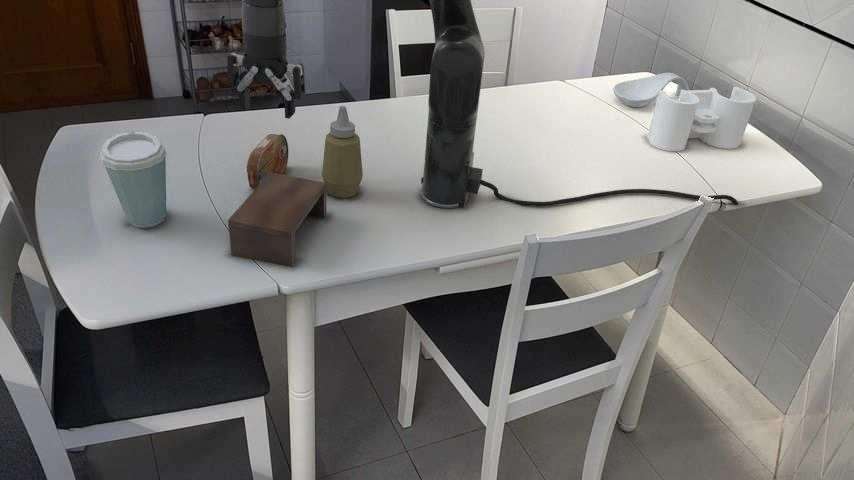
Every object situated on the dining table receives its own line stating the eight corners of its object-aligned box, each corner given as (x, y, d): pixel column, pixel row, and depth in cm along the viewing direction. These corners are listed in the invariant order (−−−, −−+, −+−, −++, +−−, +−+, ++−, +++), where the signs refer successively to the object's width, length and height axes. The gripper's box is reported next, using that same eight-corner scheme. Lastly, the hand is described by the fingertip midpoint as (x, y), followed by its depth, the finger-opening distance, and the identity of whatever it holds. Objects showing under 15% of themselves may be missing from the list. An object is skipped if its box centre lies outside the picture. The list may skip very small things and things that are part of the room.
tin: (261, 199, 143) (258, 160, 138) (245, 196, 143) (242, 157, 138) (290, 165, 155) (289, 128, 150) (276, 162, 155) (274, 125, 150)
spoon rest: (628, 114, 194) (635, 88, 190) (602, 97, 202) (607, 71, 198) (696, 105, 204) (703, 80, 200) (668, 89, 212) (674, 64, 208)
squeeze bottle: (345, 206, 144) (346, 120, 133) (313, 192, 147) (311, 106, 136) (370, 190, 150) (373, 106, 139) (339, 177, 153) (339, 94, 142)
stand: (326, 214, 141) (326, 182, 137) (292, 266, 126) (290, 232, 122) (271, 204, 142) (269, 172, 138) (231, 254, 127) (227, 220, 123)
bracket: (662, 153, 177) (676, 106, 170) (641, 135, 184) (654, 89, 177) (748, 147, 184) (765, 101, 177) (725, 130, 192) (740, 86, 184)
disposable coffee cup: (176, 232, 131) (164, 156, 122) (110, 237, 128) (93, 159, 119) (176, 202, 139) (165, 128, 130) (114, 206, 136) (99, 131, 127)
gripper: (216, 26, 129) (223, 113, 138) (294, 40, 127) (296, 127, 137) (235, 14, 135) (240, 99, 144) (309, 28, 133) (310, 112, 143)
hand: (267, 112), depth 141 cm, fingers open, 8 cm apart
